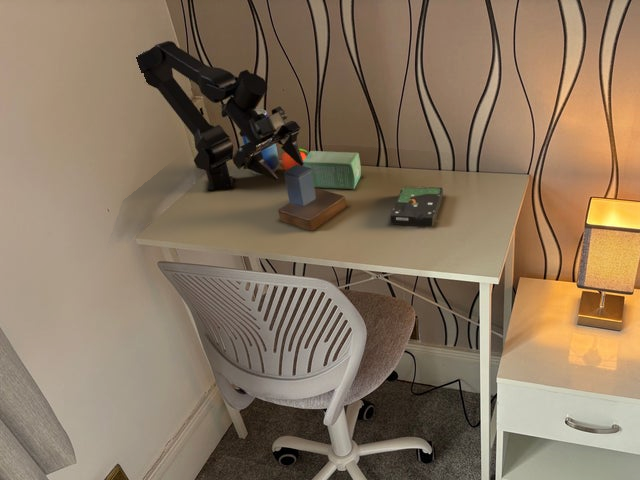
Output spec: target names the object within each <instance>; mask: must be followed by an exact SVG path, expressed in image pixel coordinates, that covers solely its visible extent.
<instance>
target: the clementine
mask: <svg viewBox="0 0 640 480" xmlns="http://www.w3.org/2000/svg"><path fill="white" fill-rule="evenodd" d="M298 148H299V151H300V153H301V156H302V159H303V160H304V159H305V158H306V156H307V155H306V154H309V152H308V150H306V149H304V148H300V147H298ZM305 152H306V154H305ZM281 165H282V168H283V169H284V170H285V171H286V170H288V169H290V168H291V167H293V166H295V165H299V164H298V163H297V162H296V161H295V160H294V159H292V158H291V157H290V156H289V155H288V154H287V153H286V152H285V151H284V152H283V154H282V156H281ZM302 166H303V165H302Z"/></svg>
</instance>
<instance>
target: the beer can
mask: <svg viewBox="0 0 640 480" xmlns="http://www.w3.org/2000/svg"><path fill="white" fill-rule="evenodd" d="M254 109H255V111H256V112H257V113H258V114H261V113H262V114H264V115H265V116H266V117H268V116H269V115H268V113H267V111H266V110H265V109H262V108H254ZM241 138H242V142H243V143H242V144H243V145H245V144H247V143H249V142H250V141H249V140H248V139H247V138H246V136H243V137H241ZM270 142H271V141H270ZM261 152H262V156H263V159H264V160H265V162H266V163H267V164H268V165H269V167H270V168H271V169H272V170H273V172H274V173H275V172H277V170H278V167H279V166H280V159H279V153H278V148H277V143H275V144H274V145H272V146H270V147H268V148H266V149H264V150H262V151H261ZM252 173H253V174H255V175H258V176H263V175H262V174H259V173H257V172H255V171H252Z"/></svg>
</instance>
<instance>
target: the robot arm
mask: <svg viewBox="0 0 640 480" xmlns="http://www.w3.org/2000/svg"><path fill="white" fill-rule="evenodd" d="M144 51H145V52H144ZM144 51H142V52H143V53H142V54H140V55H138V57H136V59H137V62H138V65H139V68H140V70H141V73H144V77H145V79H146V82H147V83H148V84H147V85H148V86H151V87H152V88H154V89H157V90H158V91H159V93H160V94H161V96H162V97H163V98H164V100H165V101H166V102H167V103H168V104H169V106H170V107H171V108H172V110H173V111H174V112H175V114H176V115H177V117H178V118H179V119H180V120H181V122H182V123H183V124H184V126H185V127H186V128H187V129H188V130H189V132H190V133H191V135H192V136H193V139H194V148H195V150H196V151H197V153H196V155H195V157H194V158H193V162H194V164H195V166H196V168H197V169H200V170H203V171H205V174H206V178H207V187H206V190H207V192H212V191H213V192H214V191H220V190H227V189H233V185H234V183H233V182H234V177H233V176H232V175H230V172H229V168H228V164H227V162H229V161H232V162H233V165H234V166H235V167H236V168H237V169H238V170H240V169H241V168H243V170H250V171H251V172H253V171H255V172H257V173H259V174H262V175H261V176H264V177H266V178H268V179H269V180H272V181H274V182H277V181H278V180H279V177H278V176H277V174H276V173H275V172H273V170H272V169H271V168H270V167H269V165H268V164H267V163H266V162H265V160H264V159H263V156H262V152H261V151H262V150H264V149H266V148H268V147H270V146H272V145H274V144H275V143H276V144H278V145H281V148H280V149H282V150H283V151H284V152H286V153H287V154H288V155H289V156H290V157H291V158H292V159H294V160H295V161H296V162H297V163H298V164H299V165H301V166H302V165H303V164H304V162H303V159H302V156H301V153H300V151H299V148H300V147H299V145H298V136H299V134H300V130H301V126H300V125H299V124H298V122H296V121H293V120H290V121H288V122H285V120H287V119H288V115H287V113H286V110H284V109H283V108H282V107H281V106H277V107H275V108H273V109H271V114H270V115H268V117H266V116H265V115H264V114H262V113H261V114H258V113H257V112H256V111H255V109H257V107H258V106H259V104H260V103H261V101H262V100H263V98H264V97H265V95H266V93H267V92H268V84H267V81H266V80H265V79H264V78H263V77H262V76H260V75H258V74H256V73H252V72H250V71H249V70H248V69H244V70H241V71H239V73H238V76H235V75H234V74H233V73H232V72H231V71H229V70H226V69H224V68H222V67H214V66H209V65H207V64H205V63H203V61H201V60H200V59H197V58H196V57H194V56H193V55H191V54H190V53H188V52H187V51H185V50H183V49H181V48H180V47H178V46H177V44H176V43H175V42H174V41H172V40H166V41H163V42H160V43H157V44H155V45H154V46H153V47H151V48H149V49H148V50H147V49H146V50H144ZM173 70H175V71H176V72H178V74H181V75H182V76H184V77H186V78H187V79H188V80H190V81H192V83H195V84H196V85H197V86H198V88H199V91H200V93H201V94H202V95H203V96H204V97H205V98H206V99H208V100H209V101H210V102H211V103H213V104H218V103H220V102H223V101H225V100H227V99H228V100H227V101H226V103H224V104H221V114H220V115H221V117H222V118H226V117H227V116H228V117H229V118H230V119H231V120H232V122H233V123H234V124H235V125H236V127H237V128H238V129H239V130H240V131H239V133H238V135H239V136H240V137H241V138H242V137H243V136H246V138H247V139H248V140H249V141H250V142H249V143H247V144H245V145H244V144H243V145H241V146H239V147H238V148H237V149H236V151H235V153H234V143H233V141H232V140H231V136H230V135H228V134H227V132H226V131H225V129H224V128H223V127H222V126H221V125H220V124H217V125H212V124H210V123H209V122H208V120H207V119H206V118H205V116H204V115H203V114H202V113H201V111H200V110H199V109H198V107H197V106H196V105H195V103H194V102H193V101H192V99H191V98H190V97H189V96H188V94H187V93H186V92H185V90H184V89H183V88H182V86H181V85H180V84H179V83H178V81H177V80H176V79H175V77H174V71H173ZM279 127H280V128H279ZM270 141H271V142H270Z"/></svg>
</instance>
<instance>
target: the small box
mask: <svg viewBox="0 0 640 480" xmlns="http://www.w3.org/2000/svg"><path fill="white" fill-rule="evenodd" d="M283 176H284V181H285V185H286V191H287V196H288V197H287V198H288V203H289V202H291V203H294V204H297V205H301V206H305V205H306V204H308V203H310V202H311V201H313V200H314V199H316V196H315V189H314V188H315V187H314V183H313V176H312V171H311V168H309V167H305V166H301V165H295V166H293V167H291V168H290V169H288V170H285V171H284V172H283Z"/></svg>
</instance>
